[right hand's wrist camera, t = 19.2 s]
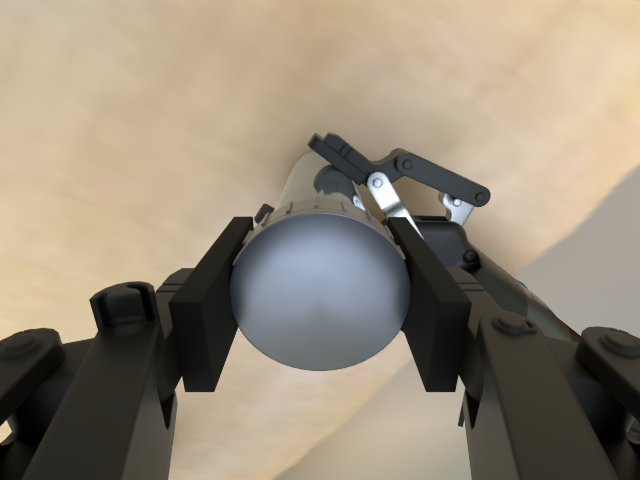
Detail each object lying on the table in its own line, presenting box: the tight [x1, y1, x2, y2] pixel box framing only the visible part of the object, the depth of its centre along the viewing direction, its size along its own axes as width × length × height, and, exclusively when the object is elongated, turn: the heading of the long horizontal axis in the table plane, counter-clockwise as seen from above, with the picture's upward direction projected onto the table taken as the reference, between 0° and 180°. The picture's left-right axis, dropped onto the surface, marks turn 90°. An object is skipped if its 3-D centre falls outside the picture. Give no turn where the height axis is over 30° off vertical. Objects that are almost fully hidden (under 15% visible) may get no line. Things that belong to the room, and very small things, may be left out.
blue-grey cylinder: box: [273, 151, 366, 212], centre depth 19 cm, size 5×5×17 cm
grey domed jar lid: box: [229, 196, 411, 371], centre depth 11 cm, size 6×6×2 cm
